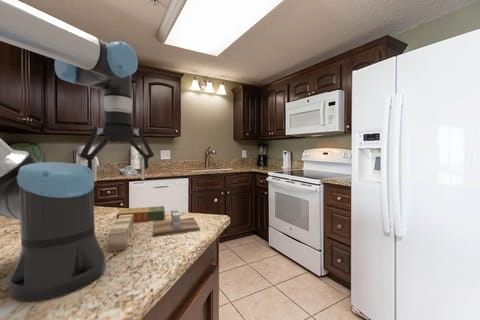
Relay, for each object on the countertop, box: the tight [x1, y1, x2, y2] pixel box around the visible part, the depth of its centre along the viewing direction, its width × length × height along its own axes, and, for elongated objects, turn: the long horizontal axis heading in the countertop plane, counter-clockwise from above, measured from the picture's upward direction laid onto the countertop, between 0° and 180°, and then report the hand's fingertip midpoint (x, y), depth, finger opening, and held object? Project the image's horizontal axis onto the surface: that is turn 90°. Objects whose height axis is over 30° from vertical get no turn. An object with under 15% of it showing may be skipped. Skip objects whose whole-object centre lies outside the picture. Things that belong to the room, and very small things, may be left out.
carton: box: [115, 205, 165, 224], centre depth 87 cm, size 8×16×4 cm, turn 107°
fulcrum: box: [152, 207, 201, 237], centre depth 77 cm, size 12×14×5 cm
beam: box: [108, 214, 134, 253], centre depth 68 cm, size 18×4×5 cm, turn 20°
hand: (119, 180), depth 72 cm, fingers open, 13 cm apart
